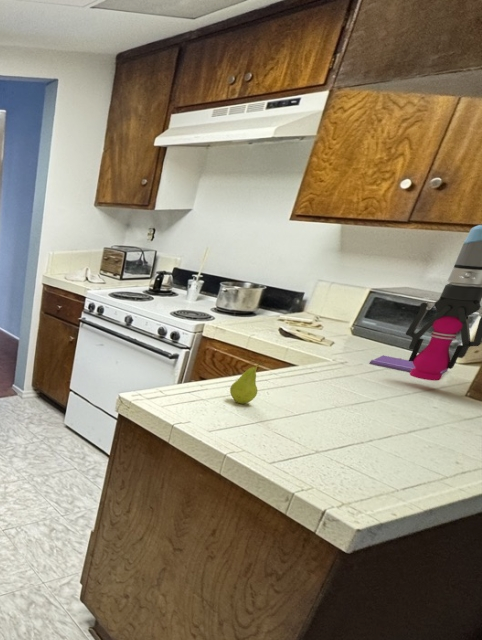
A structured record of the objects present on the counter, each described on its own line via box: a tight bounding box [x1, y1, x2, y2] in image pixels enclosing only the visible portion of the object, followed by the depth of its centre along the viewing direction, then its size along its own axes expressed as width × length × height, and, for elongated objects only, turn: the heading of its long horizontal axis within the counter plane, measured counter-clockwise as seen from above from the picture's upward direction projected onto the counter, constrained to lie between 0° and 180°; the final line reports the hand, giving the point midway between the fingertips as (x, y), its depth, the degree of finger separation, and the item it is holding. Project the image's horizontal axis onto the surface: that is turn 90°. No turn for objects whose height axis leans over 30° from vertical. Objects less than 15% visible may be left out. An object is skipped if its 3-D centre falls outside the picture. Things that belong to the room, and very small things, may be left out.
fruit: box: [229, 361, 264, 405], centre depth 123 cm, size 6×6×12 cm
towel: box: [368, 354, 449, 375], centre depth 156 cm, size 16×14×1 cm
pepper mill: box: [409, 316, 462, 382], centre depth 134 cm, size 7×7×20 cm
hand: (430, 363), depth 137 cm, fingers closed on pepper mill, 7 cm apart
